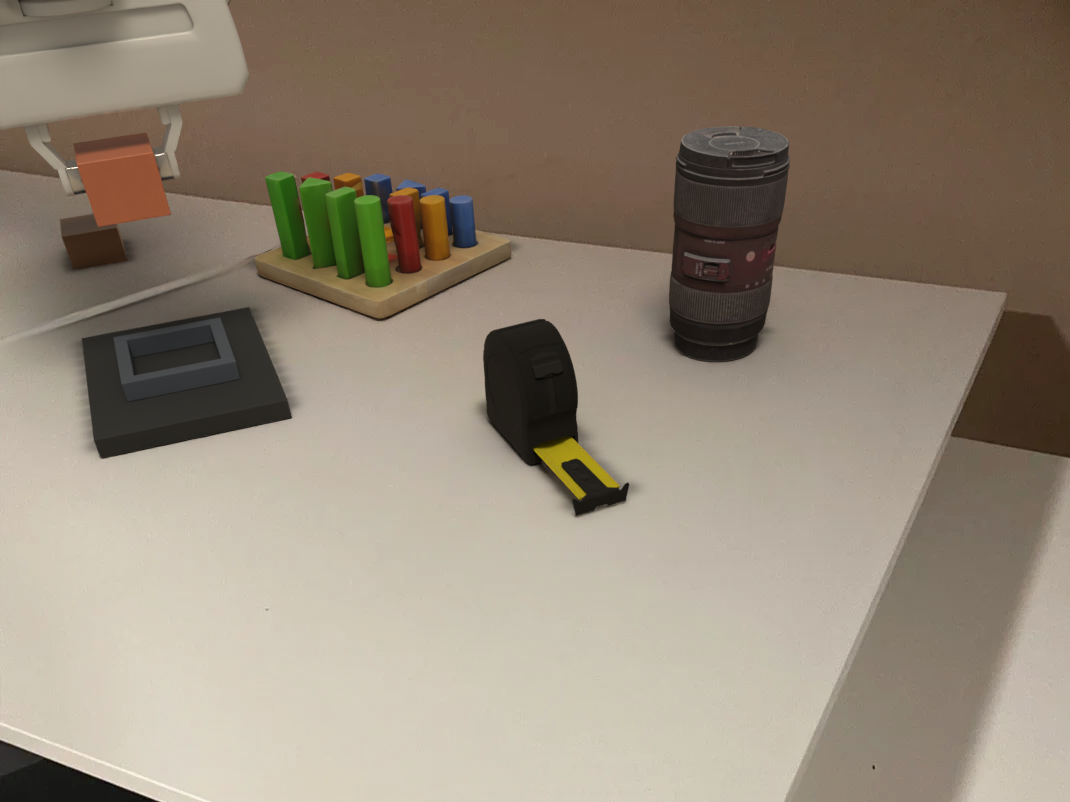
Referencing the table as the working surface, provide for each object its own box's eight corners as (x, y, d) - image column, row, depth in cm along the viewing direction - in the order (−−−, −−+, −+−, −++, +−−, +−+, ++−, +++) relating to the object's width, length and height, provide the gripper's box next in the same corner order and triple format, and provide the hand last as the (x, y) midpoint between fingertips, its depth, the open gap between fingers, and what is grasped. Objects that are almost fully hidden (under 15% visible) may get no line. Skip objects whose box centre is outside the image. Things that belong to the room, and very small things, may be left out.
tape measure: (485, 419, 75) (476, 313, 69) (538, 405, 76) (533, 299, 70) (573, 519, 65) (571, 405, 60) (631, 501, 67) (635, 387, 61)
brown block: (130, 270, 98) (116, 227, 95) (77, 280, 96) (61, 236, 94) (126, 252, 101) (113, 210, 98) (74, 261, 100) (59, 219, 97)
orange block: (171, 214, 71) (153, 152, 68) (97, 227, 70) (76, 164, 67) (163, 192, 74) (146, 132, 71) (93, 204, 73) (73, 143, 70)
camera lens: (785, 354, 80) (814, 146, 70) (692, 374, 78) (708, 164, 68) (737, 314, 86) (757, 115, 75) (649, 332, 84) (658, 131, 73)
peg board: (514, 257, 96) (509, 159, 90) (381, 322, 87) (365, 218, 81) (389, 219, 104) (376, 127, 98) (255, 275, 96) (232, 177, 89)
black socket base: (291, 418, 76) (283, 380, 74) (101, 458, 73) (86, 421, 71) (253, 323, 88) (244, 289, 86) (87, 355, 85) (74, 320, 83)
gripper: (212, -87, 65) (263, 149, 75) (-130, -52, 61) (-28, 195, 70) (226, -74, 61) (278, 174, 71) (-140, -35, 56) (-30, 224, 66)
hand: (123, 185), depth 71 cm, fingers closed on orange block, 5 cm apart
